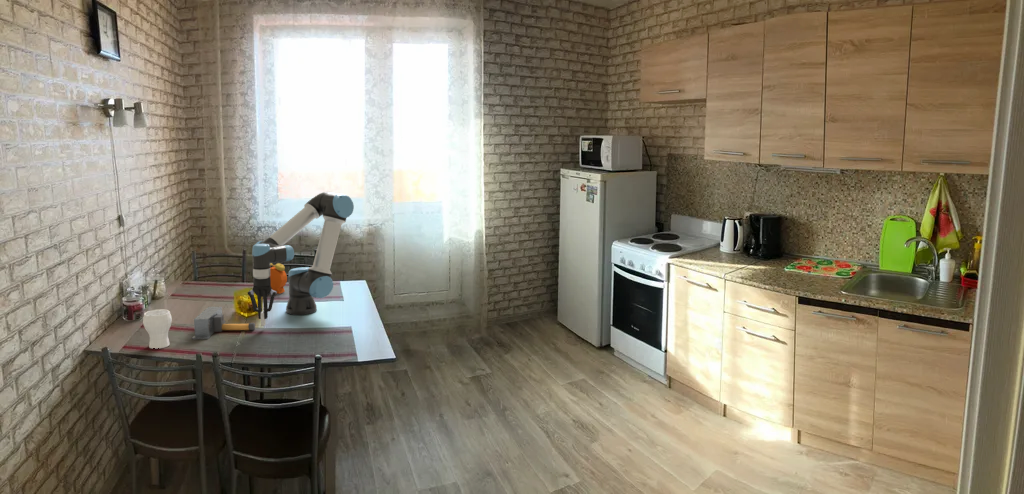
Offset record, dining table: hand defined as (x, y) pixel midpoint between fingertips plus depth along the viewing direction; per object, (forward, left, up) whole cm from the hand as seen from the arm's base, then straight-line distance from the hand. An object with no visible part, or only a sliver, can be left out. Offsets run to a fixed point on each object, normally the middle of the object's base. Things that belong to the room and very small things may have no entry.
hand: (263, 325), depth 289 cm
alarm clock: (+10, -68, -3) cm, 69 cm away
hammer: (+13, 0, -2) cm, 13 cm away
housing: (+24, 0, -2) cm, 24 cm away
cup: (+38, +20, -3) cm, 43 cm away
